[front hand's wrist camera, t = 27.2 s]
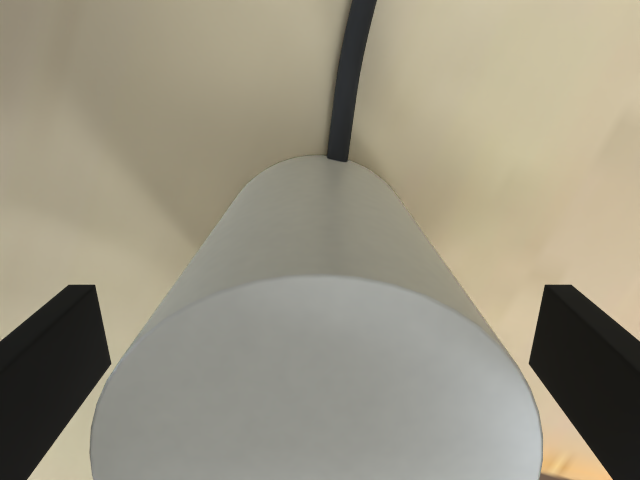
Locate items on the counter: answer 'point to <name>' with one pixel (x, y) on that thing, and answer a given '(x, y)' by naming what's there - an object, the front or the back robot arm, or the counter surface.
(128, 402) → the can
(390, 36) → the counter surface
